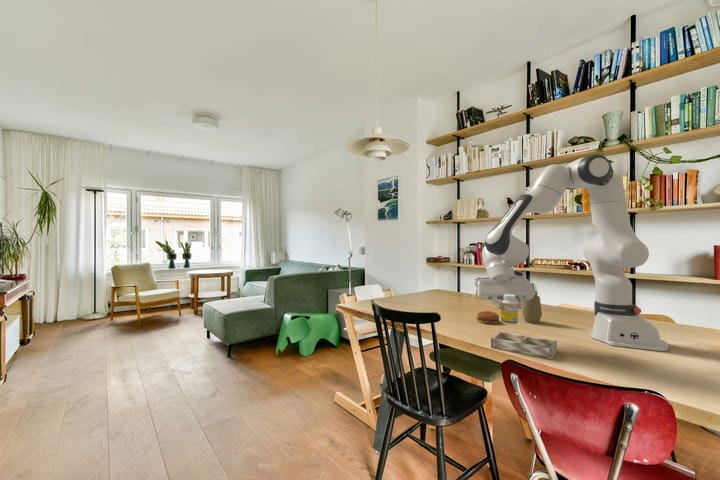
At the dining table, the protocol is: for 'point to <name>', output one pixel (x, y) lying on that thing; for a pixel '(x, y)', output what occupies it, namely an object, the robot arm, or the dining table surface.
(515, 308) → the supplement bottle
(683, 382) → the dining table surface
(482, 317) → the burger
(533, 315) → the squeeze bottle
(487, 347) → the dining table surface
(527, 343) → the grey divided wooden tray
